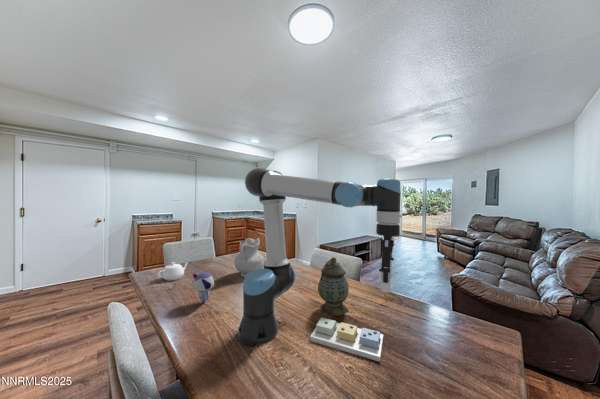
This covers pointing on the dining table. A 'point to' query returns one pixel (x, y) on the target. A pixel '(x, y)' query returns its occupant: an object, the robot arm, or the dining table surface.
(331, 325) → the tile one
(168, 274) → the teapot
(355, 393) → the dining table surface
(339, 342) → the panel
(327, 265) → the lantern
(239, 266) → the ceramic pitcher
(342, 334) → the tile two
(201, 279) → the toy
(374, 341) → the tile three
